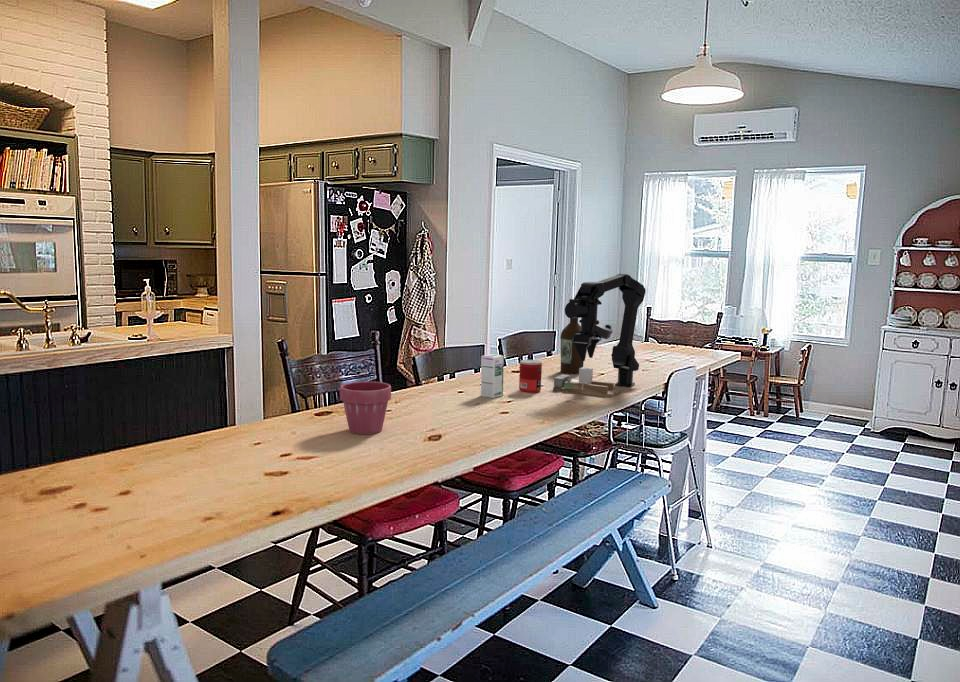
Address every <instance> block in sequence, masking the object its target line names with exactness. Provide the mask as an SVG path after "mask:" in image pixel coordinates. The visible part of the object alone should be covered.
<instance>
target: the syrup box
mask: <svg viewBox="0 0 960 682" xmlns="http://www.w3.org/2000/svg"><path fill="white" fill-rule="evenodd" d="M480 357H481V358H480V359H481V363H480V365H481V367H480V396H481V397H485V398H488V399H489V398H491V399H495V398H499V397H503V396H504V355H502V354H498V353H497V354H495V353H494V354H491V353H490V354H486V355H485V354H484V355H481V356H480Z"/></svg>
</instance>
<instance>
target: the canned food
mask: <svg viewBox="0 0 960 682" xmlns="http://www.w3.org/2000/svg"><path fill="white" fill-rule="evenodd" d="M542 369H543V362H542V361H541V360H538V359H521V360H520V361H519V380H518V382H519V383H518V389H519V391H520V392H521V393H526V392H527V394H528V393H529V394H535V393H536V392H537V393H540V392H541V390H542V375H543V373H542Z"/></svg>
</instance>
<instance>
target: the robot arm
mask: <svg viewBox="0 0 960 682" xmlns="http://www.w3.org/2000/svg"><path fill="white" fill-rule="evenodd" d="M617 288H618V290H619V291H620V292H621V293H622V295H621V296H622V297H621V299H622V300H623V301H622V302H623V303H624V311H623V314H622V315H623V316H622V323H621V328H620V335H619V341H618V343H617V344H616V345H613V346H612V353H611V355H610V357H611V361H612V366H613V369H618V370H617V382H614V386H623V387H633V386H635V385H636V382H633V379H634V372H637V371H639V369H640V368H639V367H640V364H639V362H638V360H637V359H636V351H635V349H634V346H633V341H634V336H635V328H636V320H637V317H638V316H637V315H638V312H639V311H638V310H639V307H640V306H641V304H642V303H643V302H644V300H645V296H646V288H645V286H644V284H642V283H641V282H639V281H638V280H636V279H634V278H633V277H631V274H628V273H627V274H626V273H618V274H616V275H614V276H613V275H612V276H610V277H608V278H604V279H601V280H599V281H586V282H582V283H581V285H580V287H579V288H578V291H577V292H576V294H575V296H574V297H573V299H572V298H570V299H568V300H569V301H568V303H566V304H565V306H564V315H565V316H566V317H567V318H568V319H570V318H578V324H579V323H580V326H581V331H579V333H577V334H575V335H573V336H572V342H574V344H575V346H576V348H577V351H578V353H579V356H580V358H581V361H584V362H585V361H586V357H587V354H588V358H590V359H593V357H594V353H595V350H596V347H597V344H599V342H601V341H602V339H605V340H608V339H610V338H611V336H612V334H613V329H612V325H611V324H605V325H602V324H600V321H599V320H598V306H600V305H602V304H603V303H602V301H601V300H599V298H601V297H602V296H603V297H604V294H605V293H606V292H608V291H612V290H614V289H617Z"/></svg>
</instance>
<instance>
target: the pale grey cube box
mask: <svg viewBox="0 0 960 682" xmlns="http://www.w3.org/2000/svg"><path fill="white" fill-rule="evenodd" d="M593 373H594V368H592V367H584V366H583V367H582V368H580V369H579V374H578V379H579V380H576V379H577V378H574V379H572V378H570V379H568V380H567V381H566V382H575V383H583V384H591V382H592V381H593Z"/></svg>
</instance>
